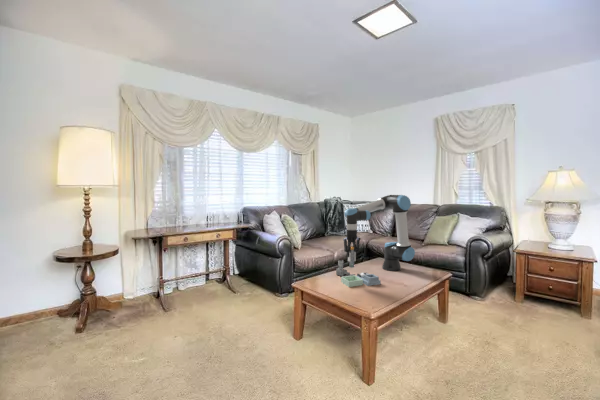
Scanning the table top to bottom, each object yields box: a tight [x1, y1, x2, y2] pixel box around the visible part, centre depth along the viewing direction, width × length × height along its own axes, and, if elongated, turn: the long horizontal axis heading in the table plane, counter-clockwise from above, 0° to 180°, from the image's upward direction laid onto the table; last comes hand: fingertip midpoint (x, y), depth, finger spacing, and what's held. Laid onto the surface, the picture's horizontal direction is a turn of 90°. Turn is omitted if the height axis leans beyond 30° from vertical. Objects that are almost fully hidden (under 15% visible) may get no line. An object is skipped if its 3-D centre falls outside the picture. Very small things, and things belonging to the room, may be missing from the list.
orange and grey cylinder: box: [348, 245, 355, 269], centre depth 214 cm, size 4×4×15 cm
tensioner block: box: [356, 272, 381, 287], centre depth 219 cm, size 17×11×6 cm, turn 19°
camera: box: [335, 259, 356, 277], centre depth 232 cm, size 9×12×15 cm
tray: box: [340, 274, 364, 288], centre depth 215 cm, size 12×12×4 cm
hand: (351, 260), depth 214 cm, fingers closed on orange and grey cylinder, 3 cm apart
